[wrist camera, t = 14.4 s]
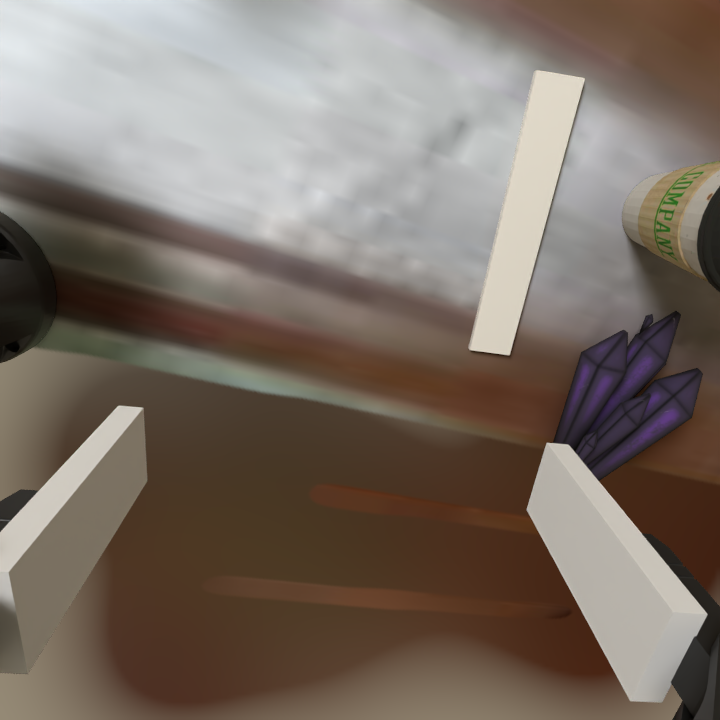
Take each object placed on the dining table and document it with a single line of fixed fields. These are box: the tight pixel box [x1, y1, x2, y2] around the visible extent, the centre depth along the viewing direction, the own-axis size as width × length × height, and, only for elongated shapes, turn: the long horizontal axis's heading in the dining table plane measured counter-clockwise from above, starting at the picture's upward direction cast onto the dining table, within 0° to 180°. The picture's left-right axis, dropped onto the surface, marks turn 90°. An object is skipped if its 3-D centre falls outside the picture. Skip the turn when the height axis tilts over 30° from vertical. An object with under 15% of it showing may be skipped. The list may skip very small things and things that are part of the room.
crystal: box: [553, 311, 703, 481], centre depth 47 cm, size 7×12×20 cm
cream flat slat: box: [469, 70, 585, 355], centre depth 43 cm, size 4×24×1 cm, turn 172°
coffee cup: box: [622, 161, 720, 292], centre depth 36 cm, size 10×10×15 cm
